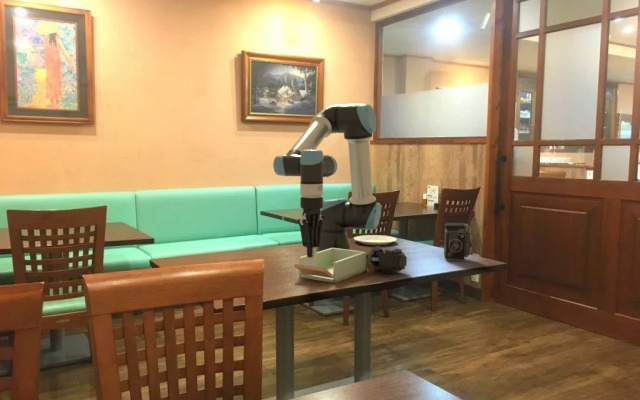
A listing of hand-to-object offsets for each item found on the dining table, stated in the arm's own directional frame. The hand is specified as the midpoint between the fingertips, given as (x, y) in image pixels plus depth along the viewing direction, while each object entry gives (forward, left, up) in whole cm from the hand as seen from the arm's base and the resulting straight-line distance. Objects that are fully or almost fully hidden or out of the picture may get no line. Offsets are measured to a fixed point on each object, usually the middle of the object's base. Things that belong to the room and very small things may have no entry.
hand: (311, 266), depth 171 cm
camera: (+29, +64, -6) cm, 71 cm away
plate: (-17, +80, -6) cm, 82 cm away
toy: (+14, +28, -6) cm, 32 cm away
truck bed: (0, +14, -6) cm, 15 cm away
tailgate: (0, +4, -4) cm, 5 cm away
